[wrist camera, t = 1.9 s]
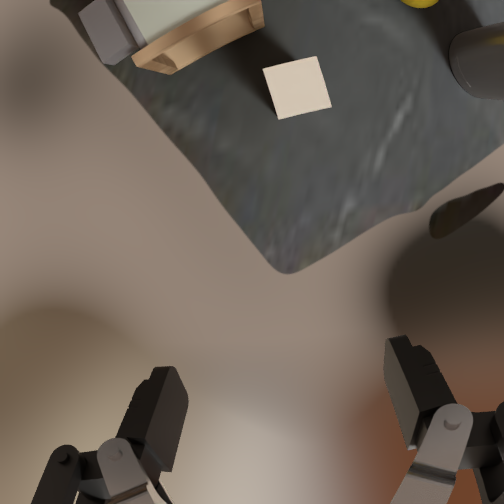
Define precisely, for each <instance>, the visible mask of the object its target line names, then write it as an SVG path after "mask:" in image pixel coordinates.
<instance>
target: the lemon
mask: <svg viewBox="0 0 504 504" xmlns="http://www.w3.org/2000/svg"><path fill="white" fill-rule="evenodd" d="M401 1H402V2H404V3H405V4H407V5H409V6H411V7H415V8H426V7H430V6H432V5H434V4H435V3H437V2H438V1H439V0H401Z"/></svg>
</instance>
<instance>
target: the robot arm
mask: <svg viewBox="0 0 504 504" xmlns="http://www.w3.org/2000/svg"><path fill="white" fill-rule="evenodd" d="M449 60H450V65H451V68H452V72H453V74H454V76H455V78H456V80H457V81H458V83H459V84H460V85H461V87H462V88H463V89H464V90H465V91H466V92H468V93H469V94H470V95H472V96H474V97H477V98H481V99H493V100H503V101H504V22H501V23H496V24H492V25H488V26H484V27H480V28H476V29H472V30H469V31H465V32H462V33H460V34H458V35H456V37H455V38H454V39H453V40H452V42H451V45H450V49H449ZM384 379H385V382H386V386H387V388H388V392H389V394H390V397H391V400H392V403H393V406H394V409H395V412H396V415H397V418H398V421H399V424H400V428H401V431H402V434H403V437H404V440H405V444H406V447H407V450H411V449H415V448H417V451H418V453H417V455H416V457H415V459H414V461H413V464H412V466H411V467H410V468H409V470H408V472H407V474H406V476H405V478H404V480H403V481H402V483H401V485H400V487H399V489H398V491H397V492H396V494H395V496H394V498H393V499H392V501H391V503H390V504H446V503H447V501H448V499H449V496H450V494H451V492H452V489H453V487H454V484H455V481H456V477H455V476H456V473H457V470H458V469H471V468H473V471H474V474H475V478H476V481H477V484H478V488H479V492H480V496H481V500H482V504H504V402H502V403H501V404H500V405H499V406H498V408H497V410H496V411H491V412H479V413H475V412H470V410H469V409H467V408H466V407H465V406H463V405H460V404H457V402H456V400H455V399H454V396H453V394H452V393H451V391H450V389H449V387H448V385H447V383H446V381H445V379H444V377H443V375H442V373H440V370H439V368H438V366H437V365H436V363H435V360H434V359H433V357H432V355H431V353H430V352H429V351H428V350H426V349H425V348H424V347H422V346H421V345H418V346H414V347H412V345H411V343H410V341H409V339H408V337H407V336H406V335H402V336H398V337H393V338H389V339H386V343H385V356H384ZM187 409H188V394H187V391H186V389H185V387H184V385H183V383H182V381H181V379H180V377H179V374H178V372H177V370H176V368H175V367H173V366H167V367H166V366H165V367H155V368H154V369H153V371H152V373H151V376H150V378H149V380H144V381H143V382H142V383H141V384H140V385H139V386H138V387H137V388H136V390H135V392H134V395H133V397H132V401H131V402H130V404H129V409H127V411H126V413H125V416H124V418H123V421H122V423H121V426H120V428H119V430H118V433H117V435H116V437H115V438H112V439H109V440H107V441H106V442H104V443H103V444H102V445H101V446H100V447H99V449H98V450H96V451H89V452H82V453H79V451H78V450H77V449H76V448H75V447H74V446H72V445H62V446H60V447H58V448H57V449H55V450H54V451H53V453H52V454H51V456H50V459H49V461H48V463H47V466H46V468H45V470H44V473H43V475H42V478H41V480H40V482H39V485H38V487H37V490H36V492H35V495H34V497H33V500H32V503H31V504H73V502H74V499H75V496H76V493H77V491H78V492H79V495H78V498H77V501H76V504H175V503H174V502H173V500H172V498H171V497H170V495H169V493H168V492H167V490H166V488H165V487H164V485H163V483H162V481H161V480H160V478H159V477H160V473H161V471H165V472H172V468H173V464H174V460H175V456H176V452H177V448H178V444H179V440H180V436H181V432H182V428H183V424H184V420H185V416H186V413H187Z"/></svg>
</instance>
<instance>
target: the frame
mask: <svg viewBox="0 0 504 504" xmlns="http://www.w3.org/2000/svg"><path fill="white" fill-rule="evenodd" d="M263 27H265V25H264V18H263V11H262V4H261V0H229V1H227V2H225V3H223V4H220V5H218V6H216V7H214V8H212V9H210V10H208V11H206V12H204V13H202V14H201V15H199V16H197V17H195V18H193V19H191V20H189V21H188V22H186V23H184V24H182V25H180V26H179V27H177V28H175V29H174V30H172V31H170V32H168V33H167V34H165V35H163V36H162V37H160V38H159V39H157V40H155V41H154V42H152V43H151V44H149V45H148V46H146V47H145V48H143V49H141V50H140V51H139V52H137V53H136V54H134V55H133V56H131V57H132V59H133V61H134V63H135V65H136V66H137V67H140V68H145V69H149V70H153V71H157V72H161V73H165V74H169V75H172V74H173V73H175V72H177V71H178V70H180V69H182V68H183V67H185V66H187V65H189V64H190V63H192V62H194V61H196V60H198V59H199V58H201V57H203V56H205V55H207V54H209V53H211V52H212V51H214V50H216V49H218V48H220V47H222V46H224V45H226V44H228V43H230V42H232V41H234V40H236V39H239V38H241V37H243V36H245V35H247V34H249V33H252V32H254V31H256V30H258V29H261V28H263Z"/></svg>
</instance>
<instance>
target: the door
mask: <svg viewBox="0 0 504 504" xmlns="http://www.w3.org/2000/svg"><path fill="white" fill-rule="evenodd" d="M227 1H229V0H114V1H113V0H94V1H93V2H92V3H90V4H89V5H88V6H86V7H85V8H84V9H83V10H82V11H80V12H79V13H78V14H79V17H80V19H81V21H82V23H83V25H84V27H85V29H86V31H87V33H88V35H89V37H90V39H91V41H92V43H93V45H94V47H95V49H96V51H97V53H98V55H99V57H100V59H101V61H102V63H105V64H111V65H115V64H117V63H118V62H120V61H121V60H122V59H124V58H125V57H127V56H128V55H129V54H131V53H132V52H134V51H135V50H137V49H138V48H140V50H141V49H143V48H145V47H146V46H148V45H149V44H151V43H152V42H154V41H155V40H157V39H159V38H160V37H162V36H163V35H165V34H167V33H168V32H170V31H172V30H174V29H175V28H177V27H179V26H180V25H182V24H184V23H186V22H188V21H189V20H191V19H193V18H195V17H197V16H199V15H201V14H202V13H204V12H206V11H208V10H210V9H212V8H214V7H216V6H218V5H220V4H223V3H225V2H227ZM114 2H115V3H114ZM115 4H116V5H115ZM116 6H117V7H116ZM117 8H118V9H119V10H118V9H117ZM119 11H120V12H119ZM120 13H121V14H120ZM121 15H122V16H121ZM122 17H123V18H122ZM123 19H124V20H125V21H124V20H123ZM125 22H126V23H125ZM126 24H127V25H126ZM127 26H128V27H127ZM128 28H129V29H128ZM130 31H131V32H130ZM131 33H132V34H131ZM132 35H133V36H132ZM133 37H134V38H133ZM134 39H135V40H136V41H135V40H134ZM136 42H137V43H136ZM137 44H138V45H137ZM138 46H139V47H138Z"/></svg>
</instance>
